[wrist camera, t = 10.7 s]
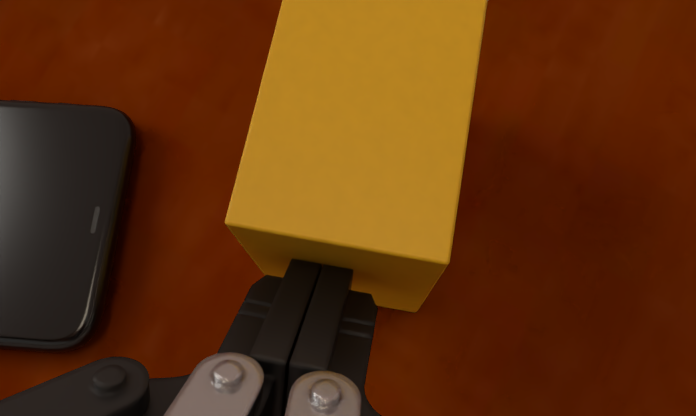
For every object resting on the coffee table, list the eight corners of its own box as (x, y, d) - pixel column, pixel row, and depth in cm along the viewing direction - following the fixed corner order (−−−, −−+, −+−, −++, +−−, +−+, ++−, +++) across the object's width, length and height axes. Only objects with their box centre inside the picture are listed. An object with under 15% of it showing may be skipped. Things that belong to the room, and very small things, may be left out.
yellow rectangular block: (417, 313, 18) (449, 265, 12) (265, 285, 19) (213, 222, 12) (450, 96, 20) (495, -50, 14) (315, 74, 21) (293, -78, 14)
